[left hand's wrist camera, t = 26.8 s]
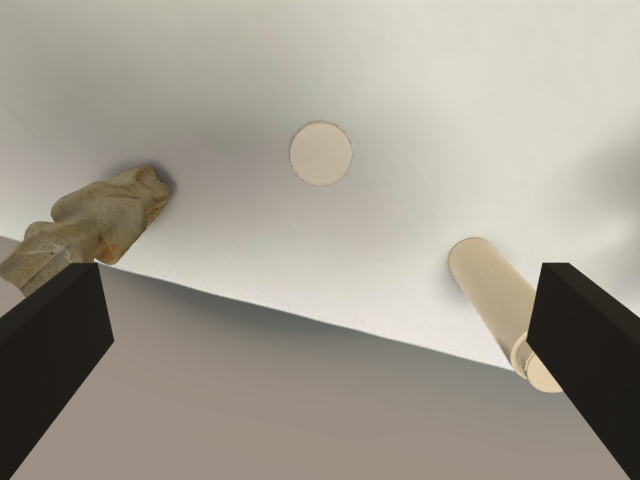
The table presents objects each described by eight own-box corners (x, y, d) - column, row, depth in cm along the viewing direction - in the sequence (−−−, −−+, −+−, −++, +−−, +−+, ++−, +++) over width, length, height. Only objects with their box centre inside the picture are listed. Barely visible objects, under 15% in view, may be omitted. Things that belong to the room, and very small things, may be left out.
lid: (279, 141, 38) (277, 144, 36) (331, 108, 37) (332, 110, 35) (310, 192, 39) (310, 197, 38) (361, 162, 38) (363, 166, 37)
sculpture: (89, 190, 39) (-38, 257, 25) (148, 146, 38) (47, 192, 24) (133, 239, 41) (37, 327, 27) (191, 199, 39) (121, 270, 25)
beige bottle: (498, 237, 41) (604, 337, 26) (491, 280, 43) (586, 398, 27) (450, 237, 41) (528, 337, 26) (445, 280, 43) (514, 397, 27)
